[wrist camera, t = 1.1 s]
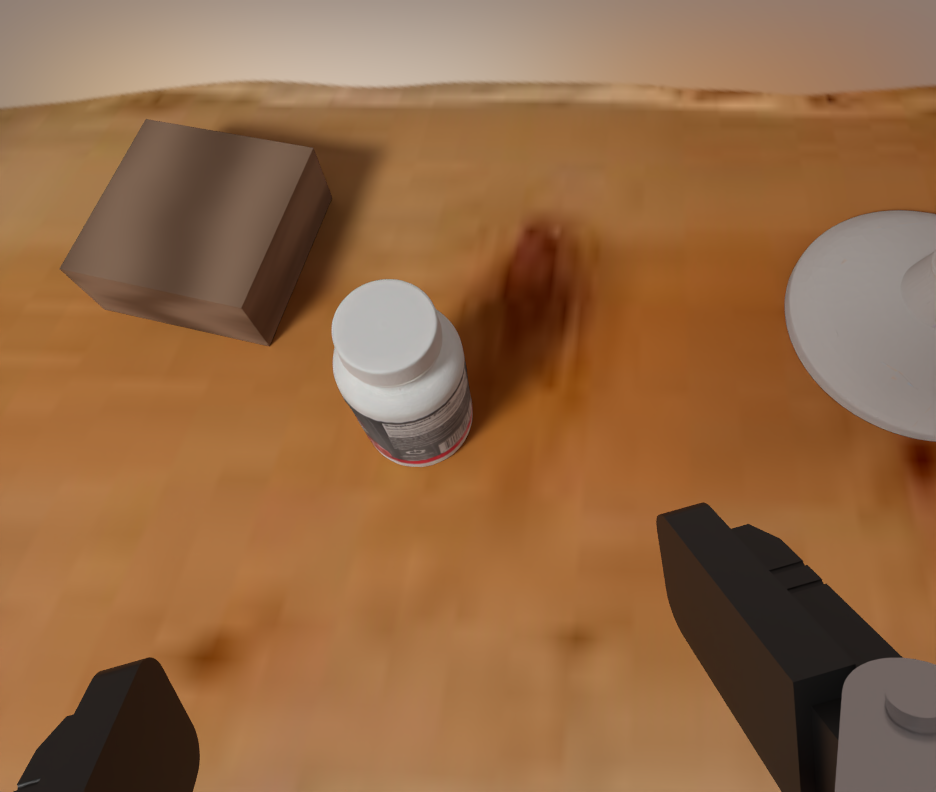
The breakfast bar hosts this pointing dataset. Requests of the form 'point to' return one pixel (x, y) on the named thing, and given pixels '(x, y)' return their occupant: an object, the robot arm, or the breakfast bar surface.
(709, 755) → the breakfast bar surface
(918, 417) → the grey pole stand
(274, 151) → the walnut base
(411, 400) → the pill bottle
